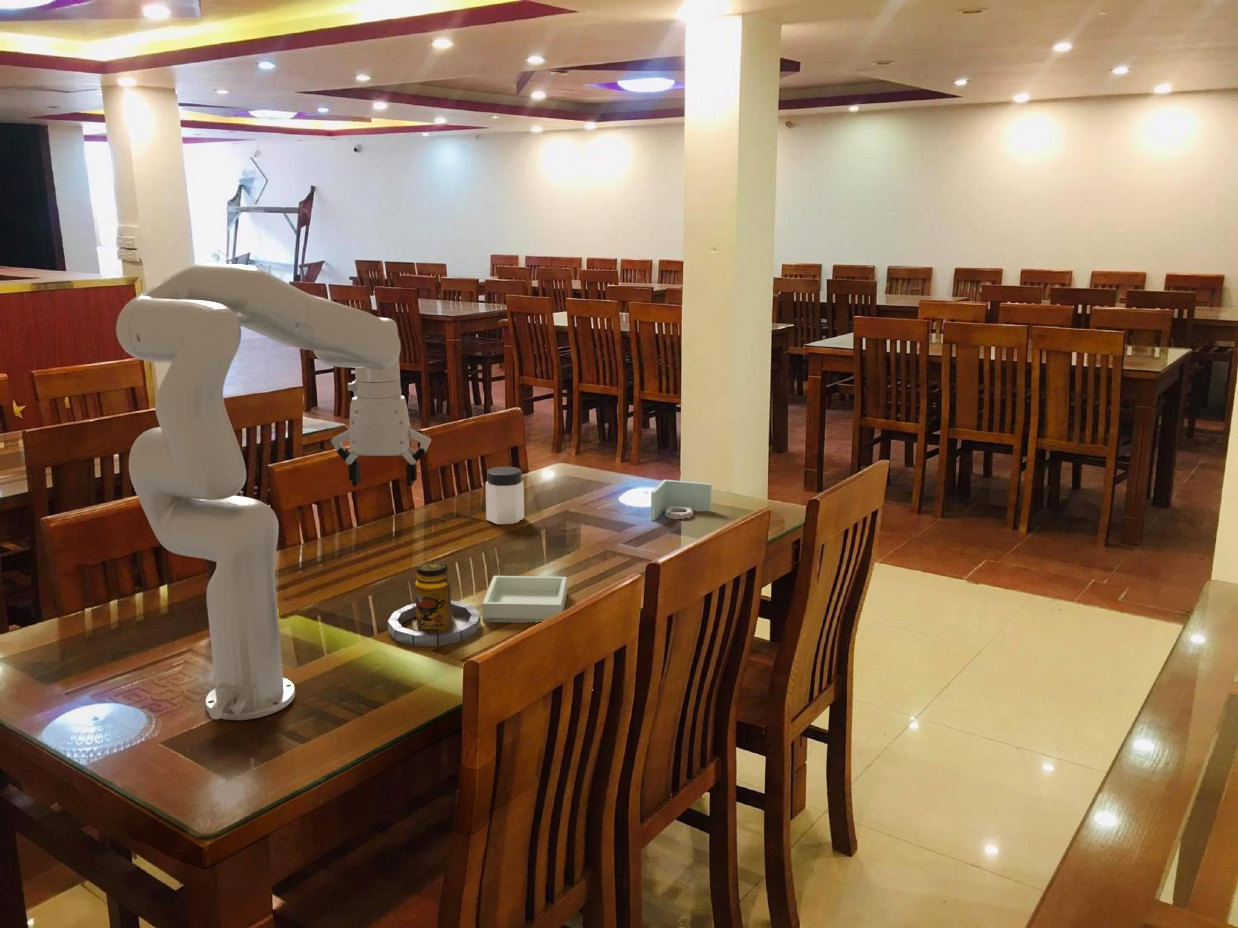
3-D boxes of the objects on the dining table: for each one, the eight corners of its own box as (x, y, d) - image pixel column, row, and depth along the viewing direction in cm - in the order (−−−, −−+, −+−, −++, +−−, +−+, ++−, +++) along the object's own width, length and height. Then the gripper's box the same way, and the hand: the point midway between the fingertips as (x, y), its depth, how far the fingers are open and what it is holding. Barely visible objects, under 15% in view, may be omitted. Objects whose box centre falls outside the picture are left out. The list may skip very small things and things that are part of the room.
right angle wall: (650, 522, 240) (651, 492, 238) (663, 508, 251) (664, 479, 249) (700, 527, 236) (701, 496, 234) (710, 513, 247) (711, 483, 245)
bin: (561, 623, 180) (560, 604, 179) (482, 621, 180) (482, 603, 179) (566, 593, 193) (566, 576, 192) (494, 592, 193) (493, 575, 193)
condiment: (416, 640, 172) (413, 574, 169) (411, 621, 180) (408, 557, 177) (459, 635, 174) (457, 570, 171) (452, 616, 182) (450, 554, 179)
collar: (471, 647, 169) (471, 636, 169) (380, 645, 170) (379, 634, 169) (485, 611, 184) (485, 601, 184) (401, 610, 185) (400, 599, 184)
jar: (498, 512, 244) (497, 464, 242) (528, 516, 242) (528, 467, 239) (481, 522, 236) (479, 473, 233) (512, 526, 234) (511, 476, 231)
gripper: (322, 393, 171) (329, 490, 175) (424, 393, 171) (428, 490, 176) (334, 385, 178) (340, 478, 183) (431, 386, 179) (435, 479, 183)
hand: (383, 484), depth 179 cm, fingers open, 9 cm apart
